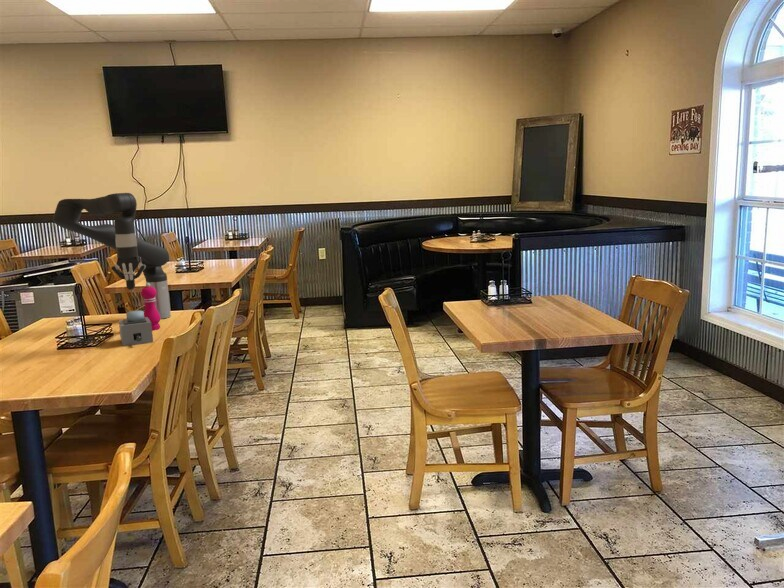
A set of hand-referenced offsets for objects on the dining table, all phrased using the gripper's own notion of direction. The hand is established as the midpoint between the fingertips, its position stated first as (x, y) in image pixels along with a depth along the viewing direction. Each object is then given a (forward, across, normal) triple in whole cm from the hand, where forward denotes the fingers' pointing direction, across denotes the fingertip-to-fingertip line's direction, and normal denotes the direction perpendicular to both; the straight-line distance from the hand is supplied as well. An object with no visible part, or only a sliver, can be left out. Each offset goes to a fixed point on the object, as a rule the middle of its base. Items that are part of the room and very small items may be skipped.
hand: (131, 289), depth 247 cm
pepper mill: (+21, +1, +20) cm, 29 cm away
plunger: (+19, +2, -5) cm, 20 cm away
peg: (+21, 0, 0) cm, 21 cm away
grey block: (+21, 0, 0) cm, 21 cm away
